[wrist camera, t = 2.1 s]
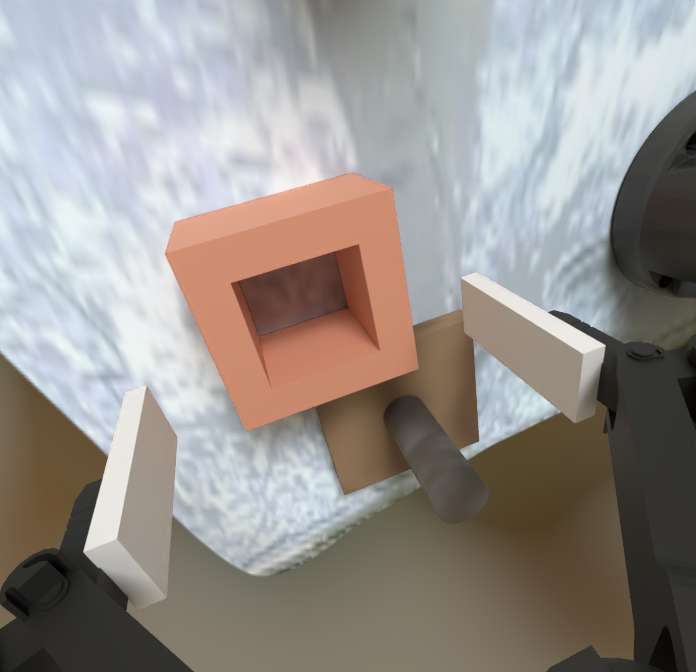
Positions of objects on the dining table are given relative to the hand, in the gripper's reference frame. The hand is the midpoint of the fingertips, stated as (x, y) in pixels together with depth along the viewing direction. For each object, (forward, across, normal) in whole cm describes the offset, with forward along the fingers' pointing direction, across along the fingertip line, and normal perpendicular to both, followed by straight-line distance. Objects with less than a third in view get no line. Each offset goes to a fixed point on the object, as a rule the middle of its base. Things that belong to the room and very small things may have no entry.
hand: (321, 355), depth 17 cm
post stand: (+9, -6, +12) cm, 16 cm away
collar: (+10, 0, 0) cm, 10 cm away
